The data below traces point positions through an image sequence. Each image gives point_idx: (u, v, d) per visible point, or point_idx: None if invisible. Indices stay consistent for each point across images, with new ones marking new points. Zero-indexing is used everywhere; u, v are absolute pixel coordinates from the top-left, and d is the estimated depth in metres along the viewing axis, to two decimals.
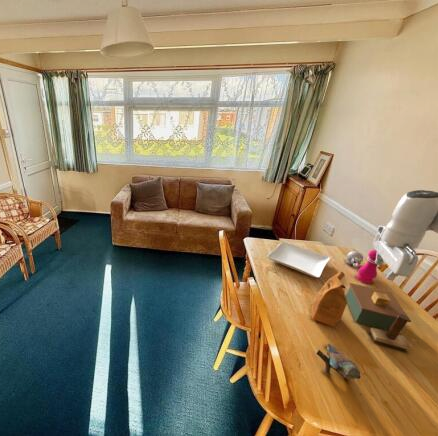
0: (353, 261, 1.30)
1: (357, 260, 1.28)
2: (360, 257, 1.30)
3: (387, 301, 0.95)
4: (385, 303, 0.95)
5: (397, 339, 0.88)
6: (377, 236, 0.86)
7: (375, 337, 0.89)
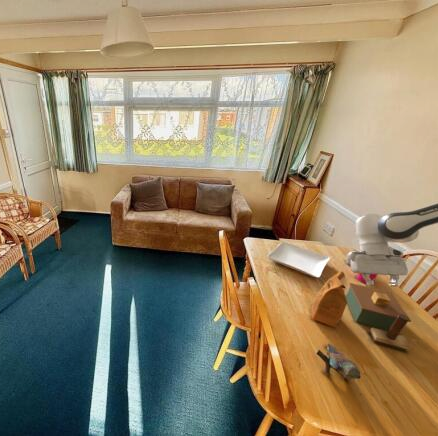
0: None
1: None
2: None
3: (387, 301, 0.95)
4: (385, 303, 0.95)
5: (397, 339, 0.88)
6: None
7: (375, 337, 0.89)
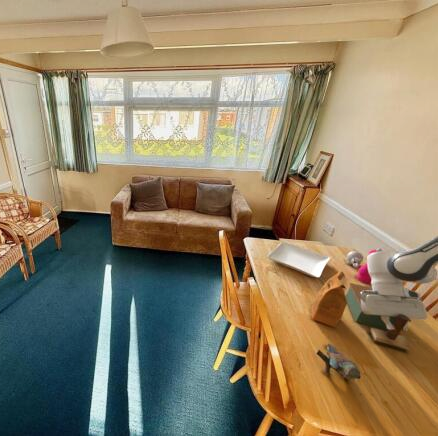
0: (353, 261, 1.30)
1: (357, 260, 1.28)
2: (360, 257, 1.30)
3: None
4: None
5: (397, 339, 0.88)
6: None
7: (375, 337, 0.89)
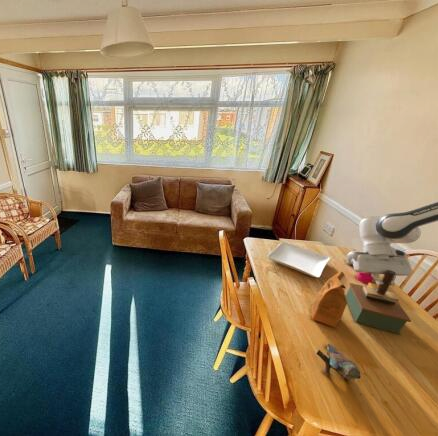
0: None
1: None
2: None
3: None
4: None
5: (386, 294, 0.97)
6: None
7: (366, 293, 0.99)
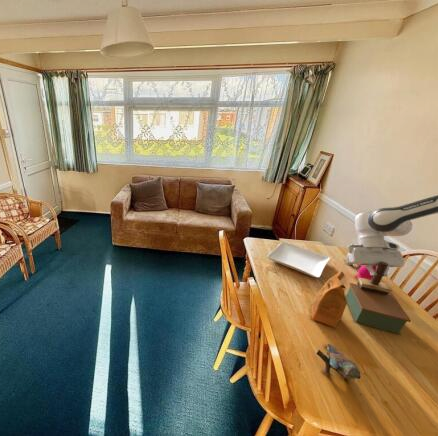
0: None
1: None
2: None
3: None
4: None
5: (380, 285, 1.02)
6: None
7: (361, 284, 1.04)
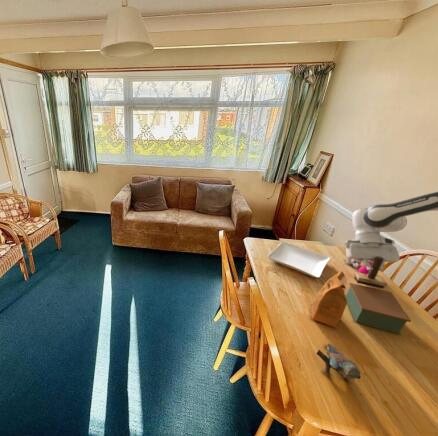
0: (353, 261, 1.30)
1: (357, 260, 1.28)
2: None
3: None
4: None
5: (376, 279, 1.06)
6: None
7: (358, 278, 1.07)
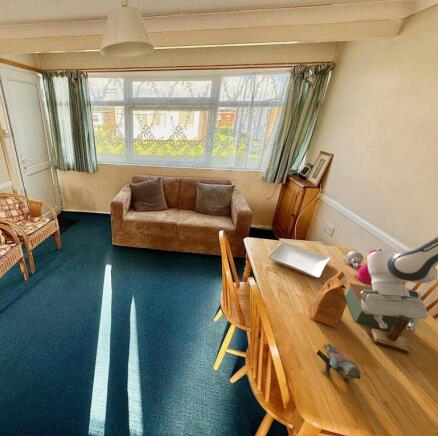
0: (353, 261, 1.30)
1: (357, 260, 1.28)
2: (360, 257, 1.30)
3: None
4: None
5: (398, 340, 0.87)
6: None
7: (376, 338, 0.89)
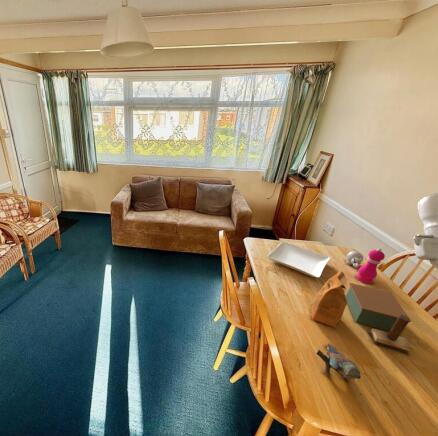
0: (353, 261, 1.30)
1: (357, 260, 1.28)
2: (360, 257, 1.30)
3: None
4: None
5: (398, 340, 0.87)
6: None
7: (376, 338, 0.89)
